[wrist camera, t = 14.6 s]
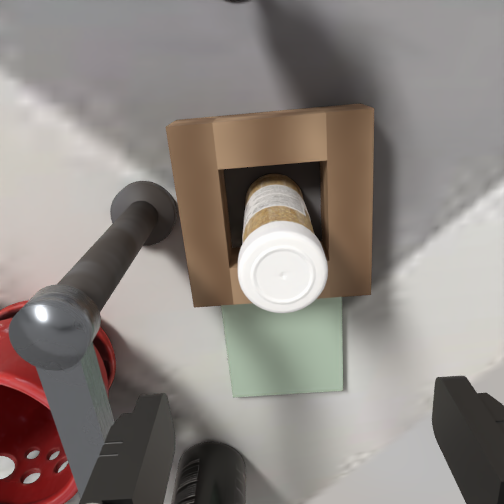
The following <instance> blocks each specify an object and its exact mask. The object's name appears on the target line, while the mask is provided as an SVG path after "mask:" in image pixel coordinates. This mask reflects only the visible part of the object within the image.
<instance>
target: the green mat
mask: <svg viewBox="0 0 504 504" xmlns="http://www.w3.org/2000/svg"><path fill="white" fill-rule="evenodd" d="M221 309H222V317H223V324H224V332H225V340H226V348H227V355H228V363H229V371H230V378H231V386H232V394H233V398H234V397H250V396H266V395H282V394H298V393H314V392H330V391H343V350H342V297H334V298H320V299H316V300H315V301H314V302H312V303H311V304H310V305H308V306H307V307H305V308H303V309H301V310H298V311H295V312H290V313H274V312H269V311H266V310H263V309H261V308H259V307H258V306H256V305H255V304H253V303H250V304H236V305H222V306H221Z"/></svg>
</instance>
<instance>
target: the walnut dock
mask: <svg viewBox="0 0 504 504" xmlns="http://www.w3.org/2000/svg"><path fill="white" fill-rule="evenodd" d="M166 132H167V139H168V145H169V151H170V158H171V164H172V171H173V177H174V183H175V190H176V196H177V202H178V209H179V215H180V221H181V228H182V234H183V241H184V247H185V253H186V260H187V266H188V272H189V279H190V285H191V292H192V298H193V304H194V307H208V306H222V305H236V304H250V303H252V302H251V301H250V300H249V299H248V298H247V297H246V296H245V294H244V292H243V291H242V289H241V287H240V284H239V280H238V257H239V252H240V249H241V247H233V248H232V240H231V232H230V223H229V214H228V205H227V196H226V187H225V178H224V169H231V168H243V167H255V166H266V165H278V164H290V163H302V162H313V161H320V192H321V226H322V241H320V243H321V245H322V248H323V251H324V254H325V257H326V260H327V265H328V277H327V281H326V284H325V287H324V289H323V291H322V292H321V294H320V295H319V297H318V298H317V299H320V298H334V297H348V296H362V295H371V268H372V209H373V151H374V108H372V107H369V106H366V105H363V104H361V103H360V104H349V105H338V106H327V107H316V108H305V109H293V110H282V111H271V112H260V113H249V114H238V115H227V116H216V117H205V118H194V119H183V120H176V121H174V122H173V123H171V124H169V125H168V126H166ZM176 217H177V210H176V205H175V202H174V200H173V198H172V196H171V195H170V194H169V193H168V191H166V190H165V189H164V188H163V187H161V186H160V185H158V184H155V183H153V182H149V181H138V182H134V183H131V184H129V185H127V186H126V187H125V188H123V189H122V190H121V191H120V192H119V193H118V194H117V195H116V197H115V198H114V200H113V202H112V205H111V220H112V223H113V224H112V225H111V226H110V227H109V229H108V230H107V231H106V232H105V233H104V234H103V235H102V236H101V237H100V238H99V239H98V241H97V242H96V243H95V244H94V245H93V246H92V247H91V248H90V249H89V250H88V251H87V252H86V254H85V255H84V256H83V257H82V258H81V259H80V260H79V261H78V262H77V263H76V264H75V266H74V267H73V268H72V269H71V270H70V271H69V272H68V273H67V274H66V275H65V276H64V277H63V279H62V280H61V281H60V282H59V283H58V284H57V285H67V286H71V287H74V288H77V289H79V290H81V291H82V292H84V293H85V294H87V295H88V296H89V297H90V298H91V299H92V300H93V301H94V303H95V304H96V306H97V308H98V310H99V313H100V311H101V310H102V308H103V307H104V305H105V304H106V302H107V300H108V299H109V297H110V296H111V294H112V293H113V291H114V290H115V288H116V286H117V285H118V283H119V282H120V280H121V279H122V277H123V276H124V274H125V272H126V271H127V269H128V268H129V266H130V265H131V263H132V261H133V260H134V258H135V257H136V255H137V254H138V252H139V251H140V249H141V247H142V246H143V245H153V244H156V243H159V242H161V241H162V240H164V239H165V238H166V237H167V236H168V235H169V233H170V232H171V230H172V228H173V226H174V224H175V221H176Z"/></svg>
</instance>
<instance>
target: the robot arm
mask: <svg viewBox="0 0 504 504" xmlns="http://www.w3.org/2000/svg"><path fill="white" fill-rule="evenodd" d="M432 425H433V430H434V434H435V438H436V440H437V442H438V445H439V447H440V449H441V451H442V453H443V455H444V457H445V459H446V461H447V464H448V466H449V468H450V470H451V472H452V474H453V476H454V478H455V481H456V483H457V485H458V487H459V489H460V491H461V493H462V495H463V497H464V500H465V502H466V504H504V406H503V405H502V404H501V403H500V402H498V401H497V400H496V399H494V398H493V397H492V396H490V395H489V394H487V393H476V391H475V390H474V388H473V387H472V385H471V384H470V382H469V381H468V379H467V378H466V377H465V376H450V377H437V378H436V381H435V389H434V401H433V412H432ZM104 443H105V444H104V445H103V447H102V449H101V452H100V454H99V458H98V459H97V461H96V464H95V466H94V469H93V471H92V473H91V476H90V478H89V481H88V483H87V486H86V488H85V490H84V493H83V495H82V498H81V500H80V503H79V504H163V502H164V498H165V493H166V489H167V484H168V479H169V475H170V470H171V466H172V461H173V457H174V451H175V432H174V427H173V422H172V417H171V412H170V407H169V402H168V398H167V395H166V394H165V393H161V394H145V395H140V396H139V398H138V401H137V404H136V406H135V409H134V412H133V413H125V414H122V415H121V416H120V417H119V418H118V419H117V421H116V422H115V423H114V424H113V425H112V426H111V427H110V430H109V432H108V435H107V437H106V439H105V442H104Z"/></svg>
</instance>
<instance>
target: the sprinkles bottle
mask: <svg viewBox="0 0 504 504" xmlns="http://www.w3.org/2000/svg"><path fill="white" fill-rule="evenodd" d="M242 243H243V244H242V246H241V249H240V252H239V257H238V280H239V284H240V287H241V289H242V291H243V292H244V294H245V296H246V297H247V298H248V299H249V300H250V301H251V302H252V303H253V304H255V305H256V306H258V307H259V308H261V309H263V310H266V311H269V312H274V313H290V312H295V311H298V310H301V309H303V308H305V307H307V306H308V305H310V304H311V303H312V302H314V301H315V300H316V299H317V298H318V297H319V295H320V294H321V292H322V291H323V289H324V287H325V284H326V281H327V277H328V265H327V260H326V257H325V254H324V251H323V248H322V245H321V243H320V241H319V240H318V238H317V237H316V236H315V234H314V232H313V227H312V225H311V220H310V216H309V213H308V211H307V208H306V205H305V202H304V200H303V194H302V192H301V190H300V188H299V186H298V185H297V184H296V183H295V182H294V181H293V180H292V179H290V178H289V177H287V176H285V175H280V174H268V175H264V176H262V177H260V178H259V179H257V180H256V181H255V182H254V183H253V184H252V185H251V186H250V187H249V189H248V191H247V194H246V198H245V214H244V226H243V236H242Z"/></svg>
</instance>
